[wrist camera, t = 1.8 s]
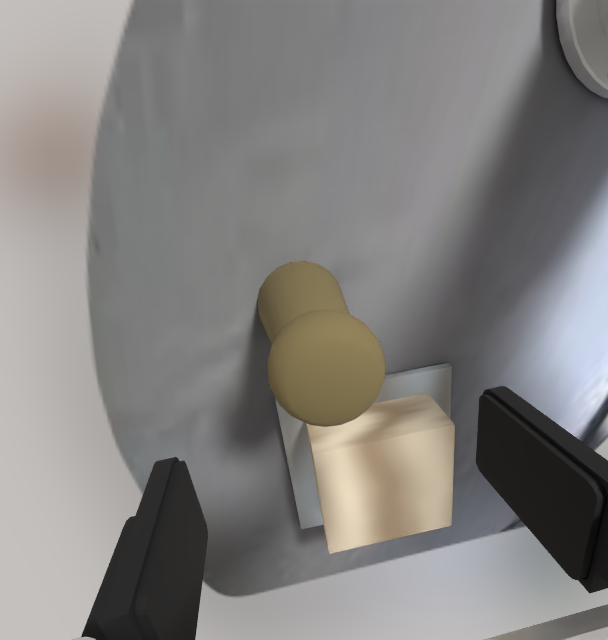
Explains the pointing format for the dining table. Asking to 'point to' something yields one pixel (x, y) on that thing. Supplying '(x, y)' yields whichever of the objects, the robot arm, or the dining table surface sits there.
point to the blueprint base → (378, 463)
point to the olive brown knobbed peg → (318, 347)
